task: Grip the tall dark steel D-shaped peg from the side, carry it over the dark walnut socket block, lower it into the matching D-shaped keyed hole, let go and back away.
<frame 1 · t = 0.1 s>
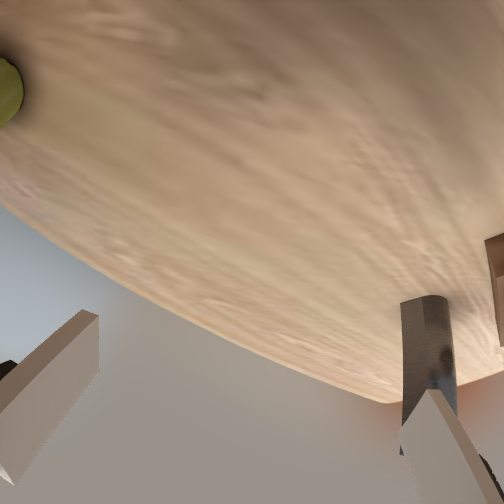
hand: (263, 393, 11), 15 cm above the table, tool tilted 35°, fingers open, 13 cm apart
d peg: (427, 307, 31), on the table
plant pot: (5, 84, 18), on the table
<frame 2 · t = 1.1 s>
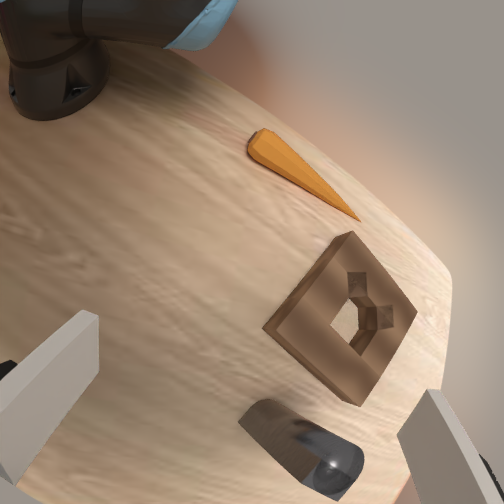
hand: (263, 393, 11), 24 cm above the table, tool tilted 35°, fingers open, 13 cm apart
d peg: (265, 417, 35), on the table
carrot: (305, 186, 43), on the table
socket block: (341, 320, 40), on the table
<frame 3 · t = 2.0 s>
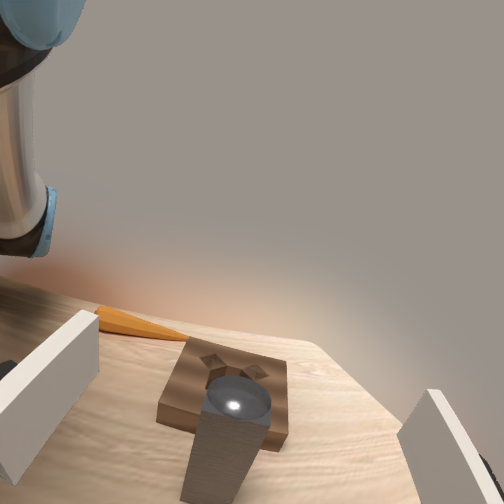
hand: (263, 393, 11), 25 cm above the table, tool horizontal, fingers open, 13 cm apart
d peg: (206, 489, 27), on the table
carrot: (147, 337, 52), on the table
socket block: (225, 400, 42), on the table
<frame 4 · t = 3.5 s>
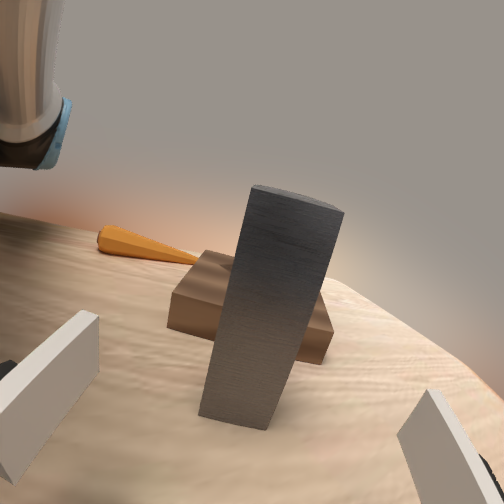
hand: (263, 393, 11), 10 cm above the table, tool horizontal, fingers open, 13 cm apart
d peg: (235, 401, 23), on the table
carrot: (157, 261, 48), on the table
socket block: (249, 313, 38), on the table
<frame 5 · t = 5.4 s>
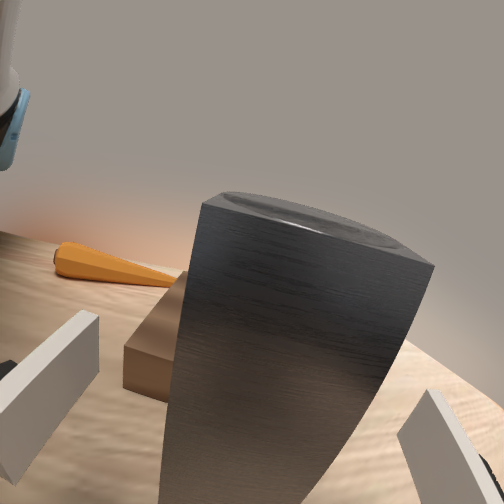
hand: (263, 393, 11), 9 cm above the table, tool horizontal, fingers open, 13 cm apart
carrot: (128, 285, 37), on the table
socket block: (238, 359, 28), on the table
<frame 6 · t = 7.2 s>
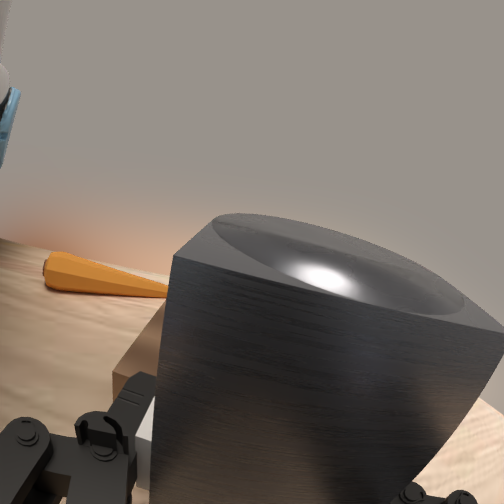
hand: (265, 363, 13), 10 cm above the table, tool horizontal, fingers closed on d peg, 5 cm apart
carrot: (123, 297, 35), on the table
socket block: (239, 378, 26), on the table
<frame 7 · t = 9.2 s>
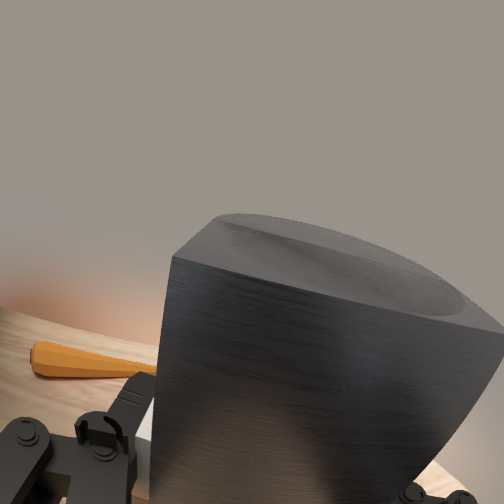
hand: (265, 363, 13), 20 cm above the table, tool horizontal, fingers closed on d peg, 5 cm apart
carrot: (107, 377, 34), on the table
when the fingers open (11 cm above the table, at t = 13.2 s): d peg drops 1 cm, resting in socket block.
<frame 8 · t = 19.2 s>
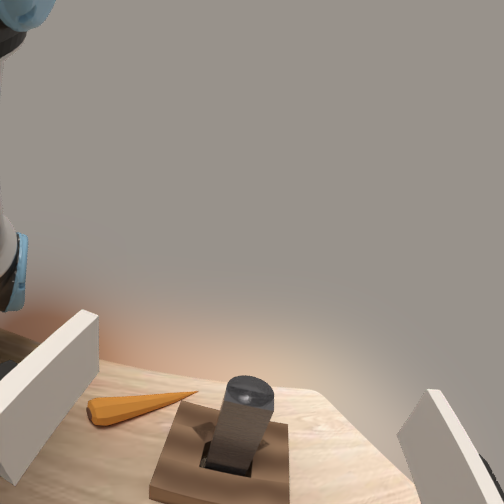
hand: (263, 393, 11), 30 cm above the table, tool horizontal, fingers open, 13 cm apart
d peg: (222, 469, 35), resting in socket block
carrot: (148, 410, 43), on the table
socket block: (222, 469, 35), on the table
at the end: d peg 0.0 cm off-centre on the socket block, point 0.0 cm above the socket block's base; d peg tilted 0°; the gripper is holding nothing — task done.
